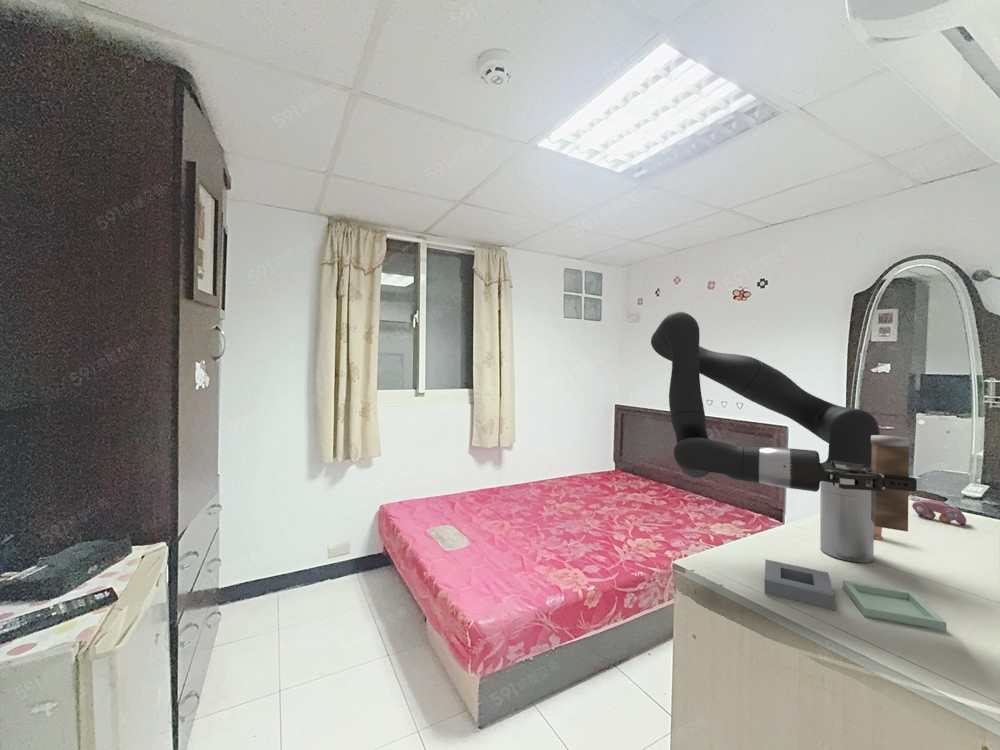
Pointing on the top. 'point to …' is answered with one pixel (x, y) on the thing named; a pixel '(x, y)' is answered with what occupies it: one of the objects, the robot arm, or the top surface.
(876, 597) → the sage green tray
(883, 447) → the dark wooden pin
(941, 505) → the video game controller
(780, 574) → the charcoal holder
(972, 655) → the top surface
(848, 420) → the robot arm
